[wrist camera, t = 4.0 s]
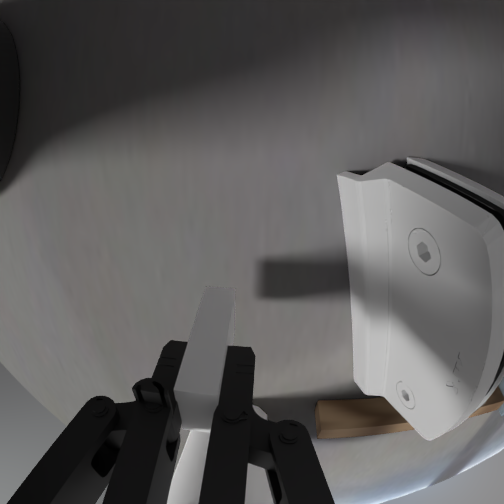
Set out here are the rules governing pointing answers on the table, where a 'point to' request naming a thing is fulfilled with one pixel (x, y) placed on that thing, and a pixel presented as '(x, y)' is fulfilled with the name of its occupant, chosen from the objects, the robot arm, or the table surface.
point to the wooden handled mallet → (376, 416)
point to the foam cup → (192, 469)
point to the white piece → (425, 290)
